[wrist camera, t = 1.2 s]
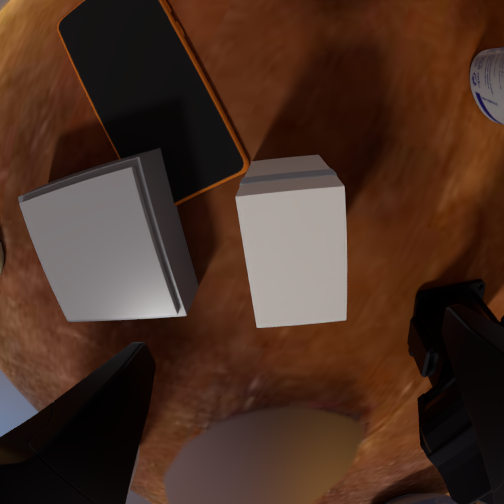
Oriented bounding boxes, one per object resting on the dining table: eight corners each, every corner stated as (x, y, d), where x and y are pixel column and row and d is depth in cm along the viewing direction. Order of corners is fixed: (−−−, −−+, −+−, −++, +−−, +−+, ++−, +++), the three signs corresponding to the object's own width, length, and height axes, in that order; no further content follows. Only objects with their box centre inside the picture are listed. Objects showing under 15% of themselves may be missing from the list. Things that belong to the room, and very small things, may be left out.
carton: (319, 153, 18) (345, 184, 11) (325, 246, 21) (347, 320, 14) (251, 160, 19) (233, 195, 12) (263, 252, 21) (256, 328, 14)
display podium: (162, 147, 19) (136, 157, 15) (198, 286, 23) (185, 319, 19) (47, 182, 20) (14, 199, 17) (89, 296, 24) (66, 324, 21)
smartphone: (155, 215, 21) (150, 219, 21) (60, 25, 15) (53, 24, 15) (255, 166, 19) (254, 169, 19) (145, -37, 13) (140, -41, 13)
